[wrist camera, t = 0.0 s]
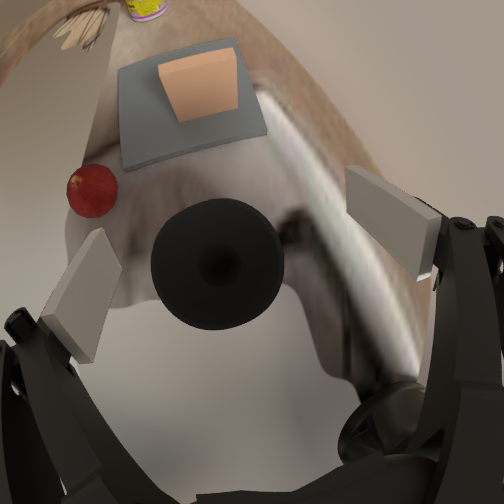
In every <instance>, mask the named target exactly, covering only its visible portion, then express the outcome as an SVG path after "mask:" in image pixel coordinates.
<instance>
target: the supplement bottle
mask: <svg viewBox="0 0 504 504" xmlns="http://www.w3.org/2000/svg"><path fill="white" fill-rule="evenodd" d="M125 3H126V5H127V8H128V10H129V12H130V15H131V17H132V19H133V20H135V21H137V22H144V21H149V20H152V19H154V18H156V17H158V16H160V15H162V14H163V13H164V12H165V11H166V9H167V2H166V0H125Z"/></svg>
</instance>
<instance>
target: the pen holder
mask: <svg viewBox="0 0 504 504" xmlns="http://www.w3.org/2000/svg"><path fill="white" fill-rule="evenodd" d="M151 274H152V280H153V283H154V287H155V289H156V291H157V294H158V296H159V297H160V299H161V301H162V302H163V304H164V305H165V306H166V308H167V309H168V310H169V311H170V312H171V313H172V314H173V315H174V316H175V317H177V318H178V319H180V320H181V321H183V322H184V323H186V324H188V325H190V326H193V327H195V328H199V329H204V330H224V329H229V328H233V327H236V326H239V325H242V324H245V323H247V322H249V321H251V320H253V319H255V318H256V317H258V316H259V315H260V314H262V313H263V312H264V311H265V310H266V309H267V308H268V307H269V306H270V305H271V303H272V302H273V301H274V299H275V297H276V296H277V294H278V292H279V289H280V286H281V284H282V280H283V275H284V254H283V249H282V245H281V242H280V239H279V237H278V235H277V233H276V231H275V229H274V228H273V226H272V225H271V223H270V222H269V221H268V220H267V219H266V217H264V216H263V215H262V214H261V213H260V212H259V211H258V210H256V209H255V208H253V207H252V206H250V205H248V204H246V203H244V202H241V201H238V200H234V199H228V198H219V199H212V200H208V201H204V202H201V203H198V204H195V205H193V206H191V207H188V208H186V209H184V210H183V211H181V212H179V213H178V214H176V215H174V216H173V217H172V218H171V219H170V220H168V221H167V222H166V223H165V225H164V226H163V227H162V228H161V230H160V232H159V233H158V235H157V237H156V240H155V242H154V245H153V249H152V255H151Z"/></svg>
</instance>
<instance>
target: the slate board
mask: <svg viewBox="0 0 504 504" xmlns="http://www.w3.org/2000/svg"><path fill="white" fill-rule="evenodd" d="M231 47H233V50H234V52H235V55H236V59H237V91H238V109H233V110H228V111H224V112H219V113H215V114H211V115H207V116H203V117H199V118H195V119H191V120H187V121H184V122H180V123H179V121H178V119H177V117H176V114H175V112H174V110H173V107H172V105H171V103H170V100H169V98H168V96H167V93H166V91H165V89H164V86H163V84H162V81H161V79H160V77H159V69H158V65H160V64H163V63H167V62H170V61H174V60H177V59H181V58H185V57H189V56H193V55H197V54H201V53H206V52H210V51H215V50H220V49H226V48H231ZM118 102H119V129H120V145H121V157H122V168H123V170H124V171H125V172H129V171H132V170H135V169H138V168H141V167H144V166H147V165H150V164H153V163H156V162H159V161H163V160H166V159H169V158H172V157H176V156H179V155H183V154H186V153H190V152H194V151H197V150H201V149H205V148H209V147H213V146H217V145H221V144H225V143H230V142H234V141H239V140H243V139H248V138H253V137H258V136H263V135H267V127H266V124H265V121H264V118H263V115H262V112H261V109H260V106H259V103H258V100H257V97H256V94H255V91H254V89H253V86H252V83H251V80H250V77H249V75H248V72H247V69H246V66H245V64H244V61H243V58H242V56H241V53H240V50H239V48H238V45H237V43H236V40H235V38H229V39H223V40H218V41H212V42H207V43H203V44H198V45H194V46H190V47H186V48H182V49H178V50H175V51H171V52H167V53H164V54H161V55H158V56H154V57H151V58H148V59H145V60H142V61H139V62H137V63H134V64H131V65H129V66H126V67H123V68H121V69H119V73H118Z"/></svg>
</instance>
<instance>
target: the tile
mask: <svg viewBox="0 0 504 504" xmlns="http://www.w3.org/2000/svg"><path fill="white" fill-rule="evenodd" d="M158 69H159V77H160V79H161V81H162V84H163V86H164V89H165V91H166V93H167V96H168V98H169V100H170V103H171V105H172V107H173V110H174V112H175V114H176V117H177V119H178V121H179V123H180V122H184V121H187V120H191V119H195V118H199V117H203V116H207V115H211V114H215V113H219V112H224V111H228V110H233V109H238V91H237V59H236V55H235V52H234V50H233V47H231V48H226V49H220V50H215V51H210V52H206V53H201V54H197V55H193V56H189V57H185V58H181V59H177V60H174V61H170V62H167V63H163V64H160V65H158Z"/></svg>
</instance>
